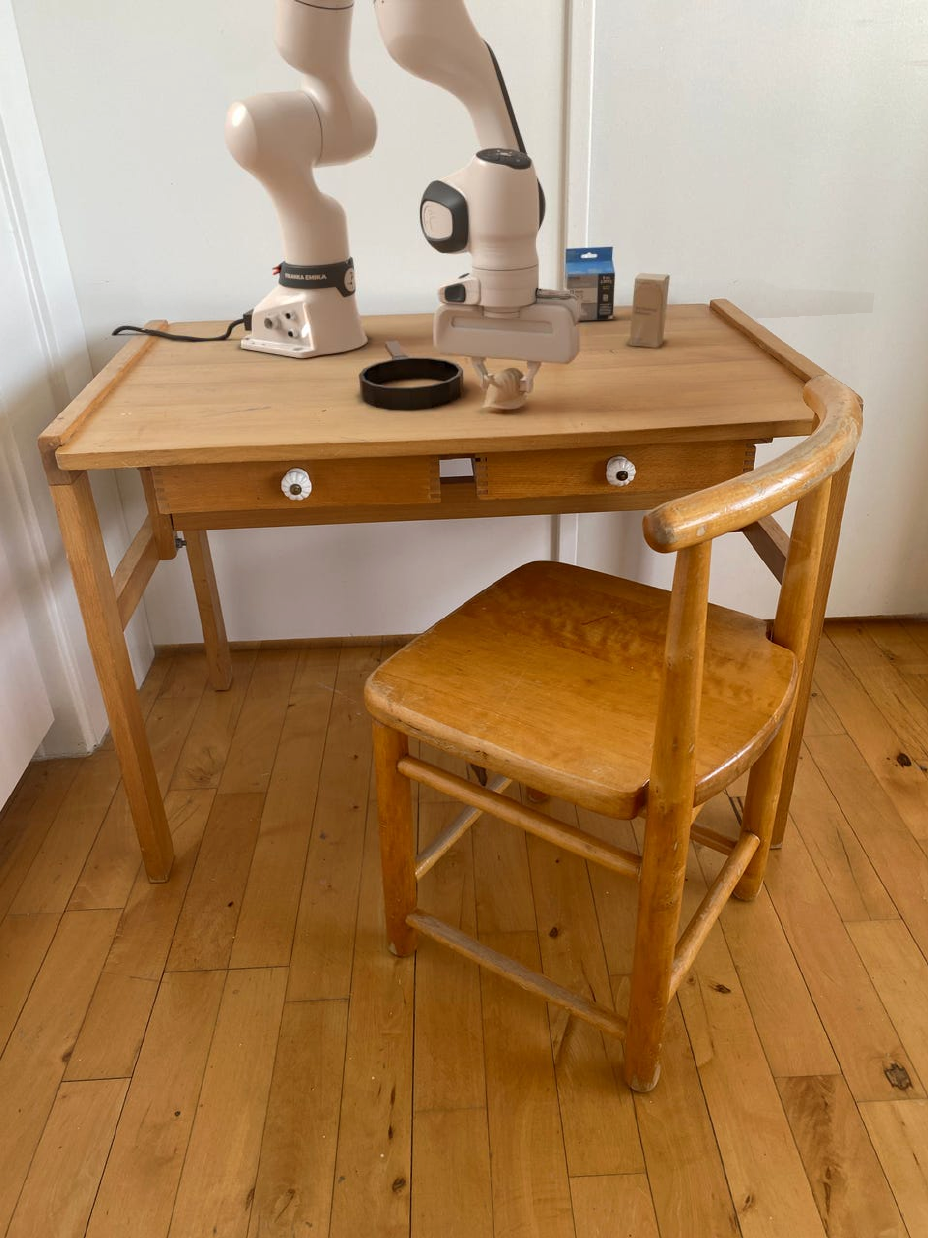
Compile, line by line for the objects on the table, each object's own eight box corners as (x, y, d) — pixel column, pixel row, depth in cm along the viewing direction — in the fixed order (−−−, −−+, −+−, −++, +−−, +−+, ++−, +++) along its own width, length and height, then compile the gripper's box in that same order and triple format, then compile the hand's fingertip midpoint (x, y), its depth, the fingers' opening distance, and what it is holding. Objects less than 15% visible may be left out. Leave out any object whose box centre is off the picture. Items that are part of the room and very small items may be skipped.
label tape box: (565, 322, 170) (567, 251, 164) (563, 316, 174) (564, 247, 167) (613, 320, 170) (616, 249, 164) (610, 315, 174) (613, 245, 167)
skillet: (473, 403, 133) (473, 381, 132) (369, 414, 131) (367, 392, 129) (436, 355, 155) (435, 336, 153) (346, 364, 152) (344, 345, 150)
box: (628, 345, 156) (632, 277, 150) (634, 339, 159) (638, 272, 153) (659, 348, 154) (665, 279, 148) (664, 341, 157) (670, 273, 151)
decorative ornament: (535, 402, 131) (535, 364, 128) (492, 416, 127) (491, 378, 124) (515, 396, 134) (515, 359, 131) (472, 410, 129) (471, 372, 126)
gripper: (587, 285, 121) (584, 388, 128) (444, 278, 128) (448, 376, 135) (575, 296, 116) (571, 403, 123) (426, 288, 123) (431, 390, 130)
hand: (506, 389), depth 129 cm, fingers closed on decorative ornament, 4 cm apart
